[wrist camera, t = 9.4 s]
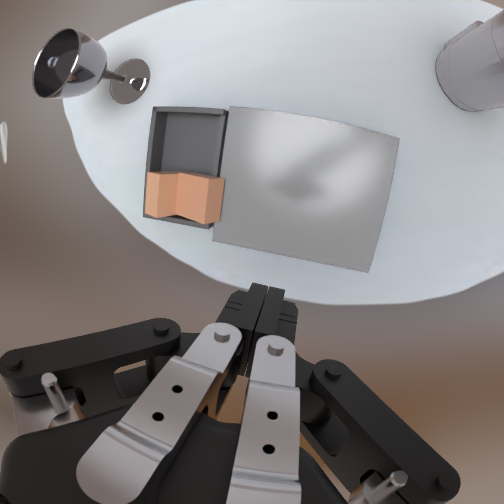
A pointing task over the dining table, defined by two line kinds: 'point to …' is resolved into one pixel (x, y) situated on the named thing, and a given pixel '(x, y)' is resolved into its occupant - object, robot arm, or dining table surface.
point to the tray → (186, 146)
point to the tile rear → (161, 193)
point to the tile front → (199, 197)
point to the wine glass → (84, 69)
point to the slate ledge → (304, 187)
